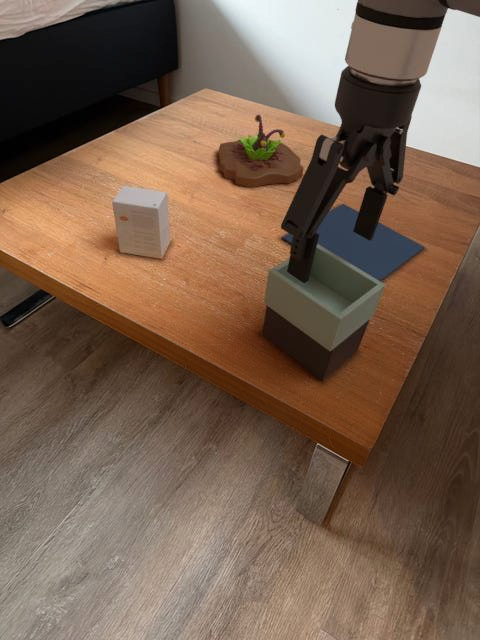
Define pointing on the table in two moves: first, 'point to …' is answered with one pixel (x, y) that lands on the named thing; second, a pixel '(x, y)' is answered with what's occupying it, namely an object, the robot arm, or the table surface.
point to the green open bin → (324, 298)
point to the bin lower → (309, 345)
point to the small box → (142, 221)
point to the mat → (364, 244)
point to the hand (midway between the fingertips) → (332, 254)
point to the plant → (259, 160)
